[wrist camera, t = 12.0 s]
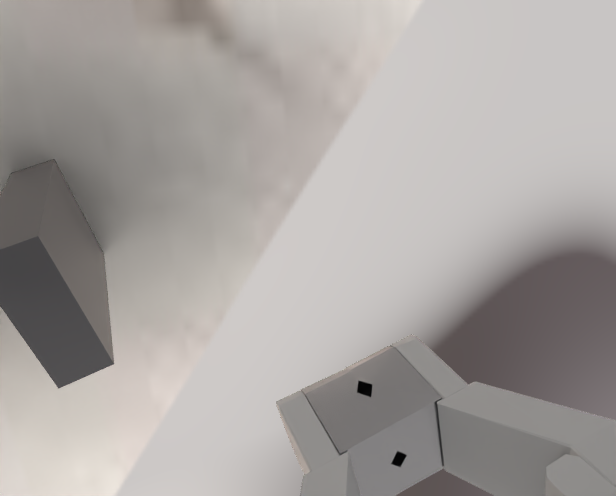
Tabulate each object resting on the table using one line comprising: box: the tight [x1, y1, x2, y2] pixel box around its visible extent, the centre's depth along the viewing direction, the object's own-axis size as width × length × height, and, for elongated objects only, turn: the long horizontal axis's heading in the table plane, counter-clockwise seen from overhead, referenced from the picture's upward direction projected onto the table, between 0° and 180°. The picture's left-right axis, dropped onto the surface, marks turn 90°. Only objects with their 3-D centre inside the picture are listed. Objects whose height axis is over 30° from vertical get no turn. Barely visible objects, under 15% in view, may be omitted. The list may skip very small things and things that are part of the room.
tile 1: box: [0, 159, 114, 388], centre depth 18 cm, size 2×5×9 cm, turn 14°
